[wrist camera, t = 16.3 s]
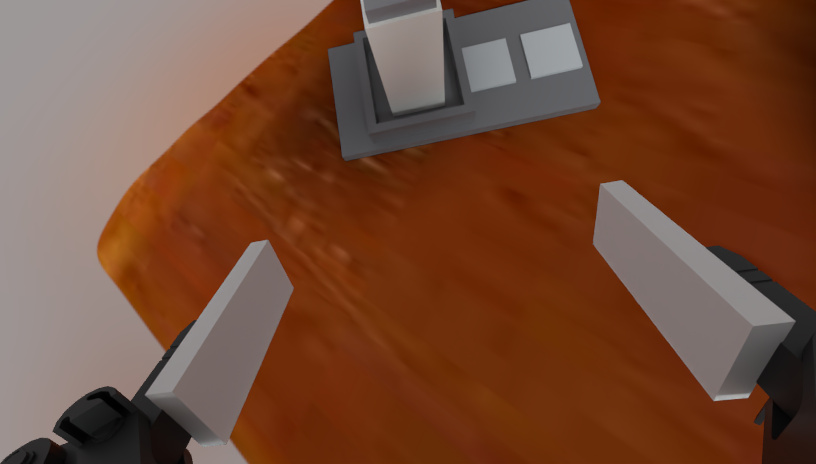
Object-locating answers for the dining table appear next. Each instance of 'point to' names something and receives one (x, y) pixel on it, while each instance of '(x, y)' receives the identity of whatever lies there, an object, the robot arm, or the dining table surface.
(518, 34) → the grey socket base plate
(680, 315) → the robot arm
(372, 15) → the plug
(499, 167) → the dining table surface
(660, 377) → the dining table surface
